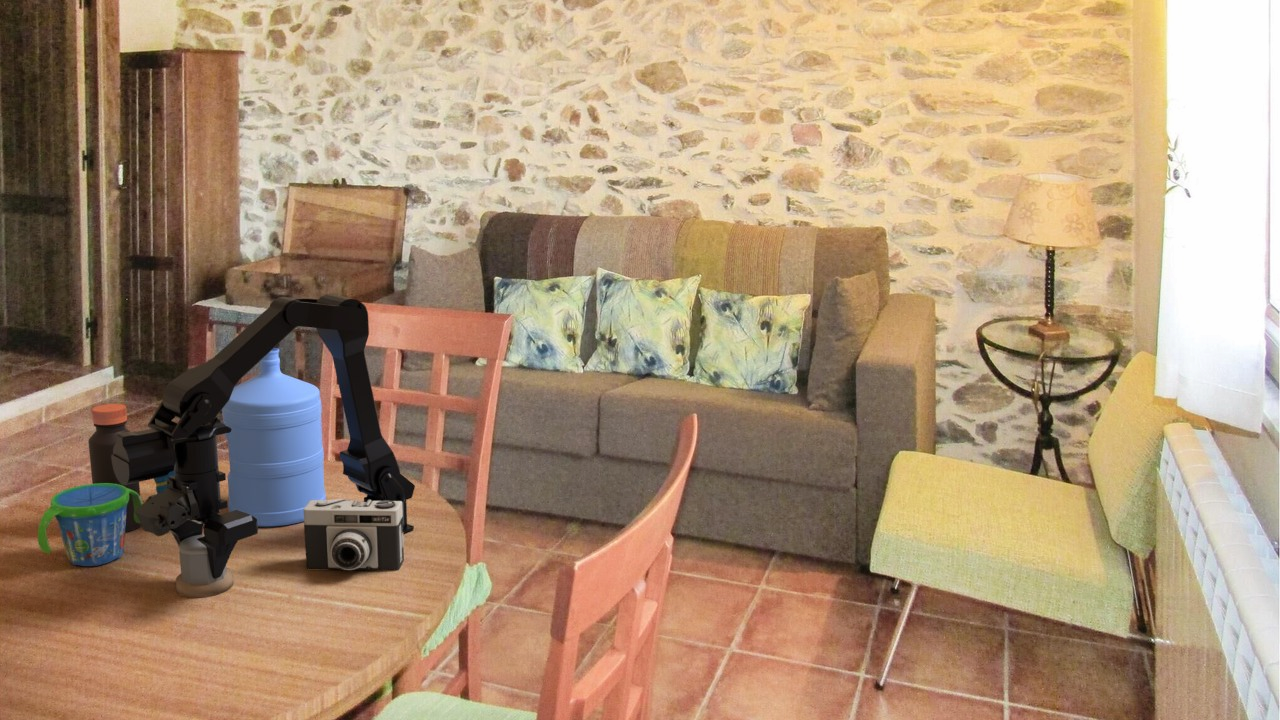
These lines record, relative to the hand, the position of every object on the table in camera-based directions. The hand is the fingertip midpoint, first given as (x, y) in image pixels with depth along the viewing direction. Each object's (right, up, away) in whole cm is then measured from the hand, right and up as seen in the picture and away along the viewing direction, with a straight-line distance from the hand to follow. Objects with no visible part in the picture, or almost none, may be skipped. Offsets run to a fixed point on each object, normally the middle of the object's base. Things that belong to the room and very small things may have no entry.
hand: (204, 572), depth 158 cm
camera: (+19, -1, +7) cm, 21 cm away
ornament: (-18, +5, +29) cm, 35 cm away
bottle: (-22, +3, +22) cm, 31 cm away
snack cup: (-20, 0, +9) cm, 22 cm away
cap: (0, -1, 0) cm, 1 cm away
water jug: (+1, +4, +30) cm, 30 cm away
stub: (0, -2, 0) cm, 2 cm away
